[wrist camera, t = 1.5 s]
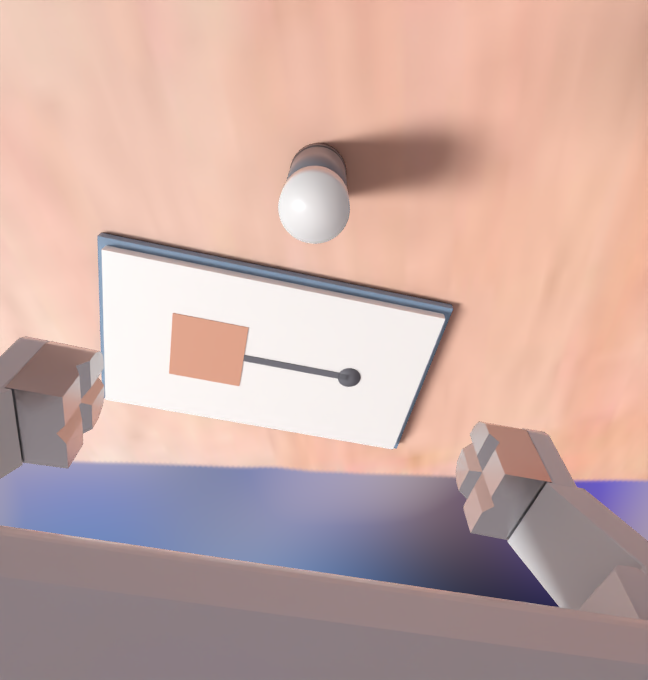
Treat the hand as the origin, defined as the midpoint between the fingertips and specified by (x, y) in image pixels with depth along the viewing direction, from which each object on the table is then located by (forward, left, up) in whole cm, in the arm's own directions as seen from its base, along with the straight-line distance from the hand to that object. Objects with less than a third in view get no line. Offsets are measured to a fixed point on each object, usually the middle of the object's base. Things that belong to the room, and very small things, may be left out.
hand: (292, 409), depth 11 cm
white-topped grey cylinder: (0, 0, -21) cm, 21 cm away
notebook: (+1, +13, -21) cm, 25 cm away
